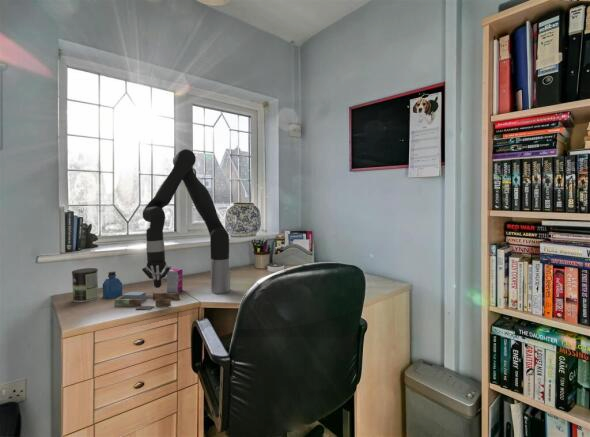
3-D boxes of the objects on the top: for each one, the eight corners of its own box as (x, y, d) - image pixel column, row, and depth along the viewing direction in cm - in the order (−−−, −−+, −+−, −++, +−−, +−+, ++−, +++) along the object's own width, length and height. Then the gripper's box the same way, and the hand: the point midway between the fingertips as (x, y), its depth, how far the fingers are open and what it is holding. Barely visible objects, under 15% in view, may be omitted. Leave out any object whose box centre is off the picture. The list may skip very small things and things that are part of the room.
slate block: (145, 300, 147) (145, 292, 147) (139, 303, 142) (139, 295, 142) (129, 300, 148) (129, 291, 148) (123, 303, 143) (122, 294, 143)
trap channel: (183, 296, 153) (183, 290, 153) (165, 310, 133) (165, 303, 133) (133, 295, 153) (133, 290, 153) (108, 309, 133) (108, 303, 133)
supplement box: (176, 293, 158) (176, 271, 157) (166, 292, 159) (165, 270, 158) (183, 290, 163) (182, 268, 163) (173, 289, 164) (172, 268, 164)
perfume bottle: (109, 298, 149) (108, 274, 149) (103, 296, 153) (102, 272, 152) (122, 295, 155) (121, 271, 154) (115, 293, 158) (115, 270, 157)
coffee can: (72, 303, 142) (71, 273, 141) (72, 298, 150) (71, 269, 149) (99, 299, 148) (98, 270, 147) (97, 294, 156) (96, 267, 155)
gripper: (173, 248, 145) (175, 284, 146) (145, 249, 145) (147, 285, 146) (166, 251, 137) (168, 289, 138) (137, 252, 137) (139, 290, 138)
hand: (157, 287), depth 142 cm, fingers closed
